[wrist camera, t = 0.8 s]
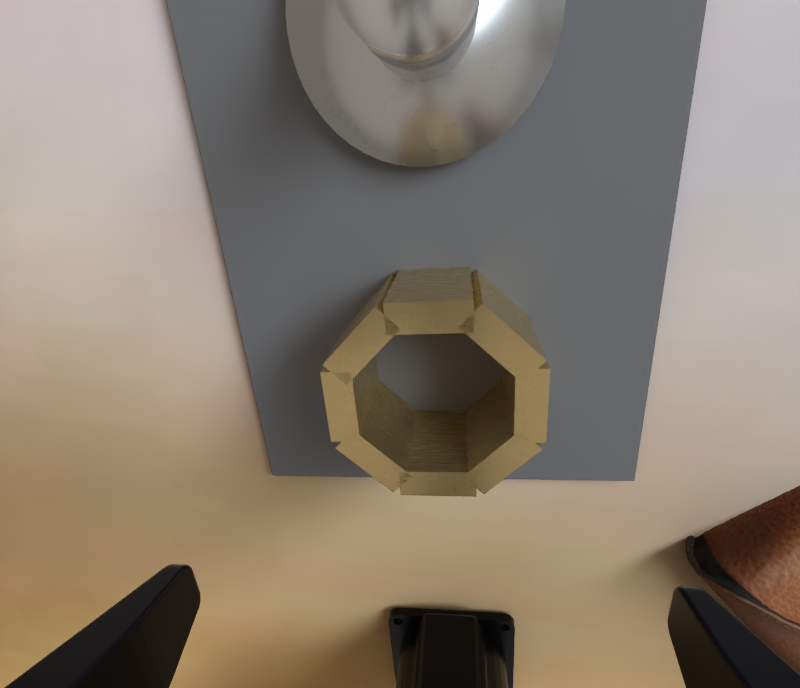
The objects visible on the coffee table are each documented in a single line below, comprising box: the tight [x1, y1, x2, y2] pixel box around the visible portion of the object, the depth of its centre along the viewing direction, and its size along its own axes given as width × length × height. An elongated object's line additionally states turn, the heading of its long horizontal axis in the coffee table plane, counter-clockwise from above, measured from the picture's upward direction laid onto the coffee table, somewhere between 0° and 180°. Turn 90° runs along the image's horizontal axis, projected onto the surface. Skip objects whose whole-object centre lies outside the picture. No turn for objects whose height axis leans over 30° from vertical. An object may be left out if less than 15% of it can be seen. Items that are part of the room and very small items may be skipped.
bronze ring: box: [320, 267, 550, 496], centre depth 16 cm, size 7×7×4 cm
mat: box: [166, 0, 707, 481], centre depth 16 cm, size 22×16×1 cm
